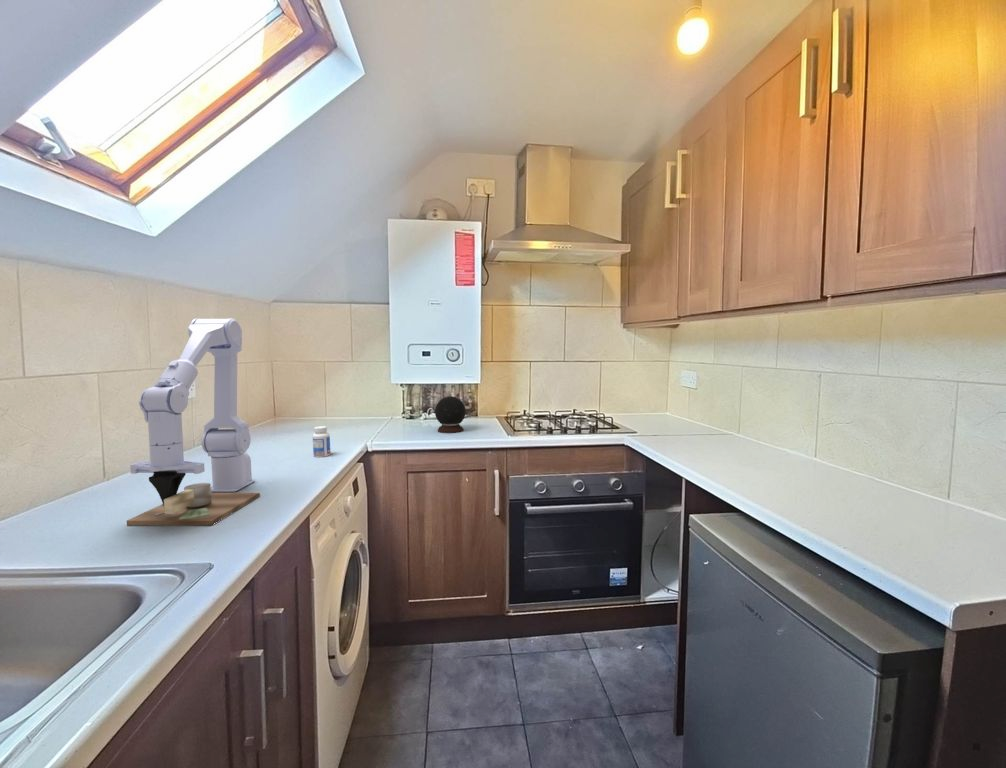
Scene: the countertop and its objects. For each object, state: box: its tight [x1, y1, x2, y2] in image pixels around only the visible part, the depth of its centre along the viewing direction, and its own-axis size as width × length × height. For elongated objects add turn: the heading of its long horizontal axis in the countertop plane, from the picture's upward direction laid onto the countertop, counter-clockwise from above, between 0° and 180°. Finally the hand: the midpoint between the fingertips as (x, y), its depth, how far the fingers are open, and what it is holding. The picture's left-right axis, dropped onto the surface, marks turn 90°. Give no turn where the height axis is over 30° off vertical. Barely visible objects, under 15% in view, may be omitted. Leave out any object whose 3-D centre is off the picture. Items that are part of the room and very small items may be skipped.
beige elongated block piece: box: [164, 482, 212, 514], centre depth 100 cm, size 12×5×4 cm, turn 179°
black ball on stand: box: [434, 396, 467, 434], centre depth 197 cm, size 13×13×15 cm
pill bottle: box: [312, 425, 331, 458], centre depth 154 cm, size 6×5×10 cm
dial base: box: [126, 492, 261, 526], centre depth 104 cm, size 18×18×1 cm
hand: (169, 506), depth 97 cm, fingers closed
